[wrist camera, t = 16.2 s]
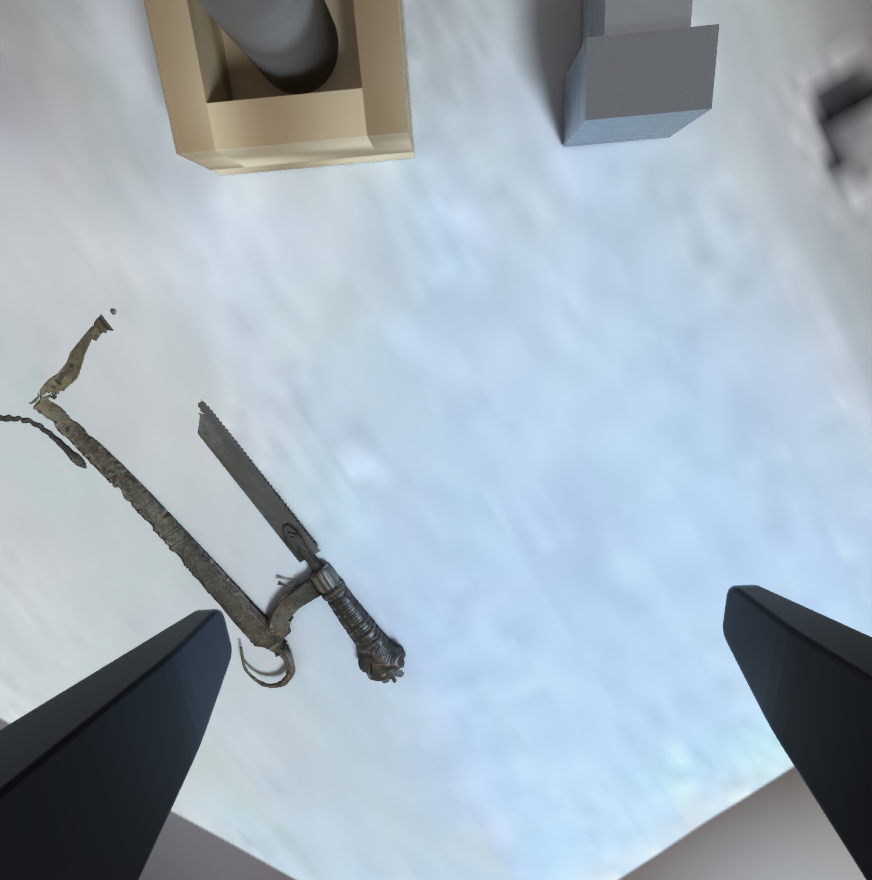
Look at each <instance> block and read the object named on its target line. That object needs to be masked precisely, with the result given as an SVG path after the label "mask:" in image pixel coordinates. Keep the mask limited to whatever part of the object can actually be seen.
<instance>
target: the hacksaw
mask: <svg viewBox="0 0 872 880" xmlns="http://www.w3.org/2000/svg"><path fill="white" fill-rule="evenodd" d="M110 312H111V313H112V314H116V310H115V309H111V311H110ZM107 330H111V331H113V330H114V329H112V328H111V327H110V325H109V324H108V323H107V321H106V320H105V319H104V317H103V316H102V315H100V317H98V318H97V319H96V321H95V322H94V326H92V327H91V328H90V329H89V330H88V331H87V333H86V334H85V335H84V336H83V337H82V339H81V340H80V341H79V342H78V344H77V345H76V346H75V347H74V349H73V350H72V351H71V352H70V355H69V357H68V360H67V363H66V364H65V365H64V367H63V368H62V369H61V370H60V372H59V373H58V374H56V375H55V376H53V377H52V378H50V379H49V380H47V382H46V383H45V384H44V385H43V386H42V388H41V389H40V400H39V401H38V402H37V403H36V404H35V405H34V407H33V408H34V410H35V409H36V410H37V411H38V412H39V413H42V414H43V415H44V416H45V417H46V418H48V419H50V420H52V421H53V422H54V423H55V426H56V428H57V430H58V431H59V432H60V433H61V434H62V435H64V436H66V437H67V438H68V439H69V440H70V441H71V442H72V444H73V445H74V446H75V447H76V448H77V449H78V450H79V451H80V452H81V453H82V454H83V456H84V457H86V458H87V459H88V460H89V462H90V463H91V464H92V465H93V466H94V467H95V468H96V469H97V470H98V471H99V472H100V473H101V474H102V475H103V476H104V477H105V478H106V479H107V480H108V481H109V483H113V487H119V488H120V489H121V491H122V493H123V496H124V498H125V499H126V500H127V501H130V502H131V504H132V507H134V508H135V510H136V511H137V513H139V514H140V515H141V516H142V517H143V518H144V519H145V520H146V521H148V522H149V523H150V524H151V525H152V526H153V531H155V532H156V533H157V534H158V536H159V537H160V538H161V539H163V540H164V541H165V543H166V544H167V545H168V546H169V549H170V550H171V551H173V552H175V553H177V555H178V556H179V557H180V558H181V559H182V561H183V563H184V566H186V568H188V569H189V571H190V572H191V573H192V575H193V576H194V577H195V578H196V579H198V580H199V581H200V583H201V584H202V585H203V587H204V588H205V589H206V591H207V592H208V593H209V594H211V596H212V597H213V598H214V599H215V600H216V601H217V602H218V603H219V604H220V606H221V607H222V608H223V609H224V611H225V612H226V613H227V614H228V616H229V617H230V618H231V619H232V621H233V622H234V623H235V624H236V625H237V626H238V627H239V629H240V630H241V631H242V632H243V633H244V634H245V635H246V636H247V637H248V638H249V639H250V641H251V643H253V644H254V646H258V647H264V648H266V649H268V650H270V651H272V652H274V653H275V656H276V657H277V656H280V657H281V658H282V659H283V660H284V662H285V664H286V667H287V671H286V675H285V677H284V678H283V679H282V680H281V681H279V682H277V683H273V684H267V683H264V682H262V681H260V680H258V679H257V678H255V677H254V676H253V675H252V674H251V673H250V672H249V671H248V669H247V668H246V666H245V661H244V656H243V650H242V647H240V652H241V660H242V665H243V668H244V670H245V671H246V673H247V674H248V675H249V676H250V677H251V678H252V679H253V680H254V681H256V682H257V683H258V684H260V685H261V686H264V687H269V688H277V687H282V686H285V685H286V684H287V683H288V682H289V681H290V680H291V679H292V677H293V675H294V674H295V665H294V660H293V657H292V655H291V654H290V652H289V650H288V649H287V647H288V644H285V643H284V642H283V639H284V638H285V637H286V636H287V635H288V634H289V633H290V632H291V629H290V627H289V626H290V623H291V621H292V619H293V616H292V615H293V614H294V613H295V612H296V611H297V610H298V609H299V608H300V607H302V606H303V605H305V604H307V603H308V602H310V601H312V600H313V599H315V598H317V597H319V596H320V595H322V598H323V599H324V600H326V601H328V604H329V606H330V607H331V608H332V610H333V612H334V613H335V615H336V616H337V618H338V619H339V621H340V623H341V624H342V626H343V627H344V628H345V629H346V631H347V633H348V635H349V636H350V637H351V639H352V640H353V642H354V643H355V644H356V646H357V648H358V651H359V658H358V664H359V667H360V669H361V670H362V671H363V672H365V673H367V675H368V677H369V679H371V680H375V681H382V682H383V683H387V682H389V680H390V679H392V681H393V682H394V683H395V682H396V678H395V676H396V677H402V676H403V675H404V672H403V671H402V670H398V669H400V668H401V667H404V663H405V662H404V659H403V658H405V652H404V650H403V649H402V648H401V647H400V646H397V645H395V644H393V643H392V642H391V641H390V640H389V638H388V637H387V636H386V635H385V634H384V633H383V632H382V630H381V629H380V628H379V627H377V626H376V623H375V622H374V621H373V620H372V618H371V617H370V615H369V614H368V613H367V612H366V611H365V610H364V609H363V607H362V606H361V605H360V603H359V602H358V601H357V600H356V599H355V597H354V596H353V595H352V593H351V592H350V590H349V589H347V588H346V585H345V582H344V581H343V580H340V578H339V576H338V575H337V573H336V572H335V570H334V569H333V568H332V567H331V565H330V564H328V563H326V564H325V565H322V563H321V562H320V561H319V560H318V558H317V557H316V556H315V554H316V553H317V552H319V551H321V550H319V549H318V547H317V546H316V545H315V543H314V542H313V540H312V539H310V536H308V535H307V533H306V532H305V531H304V529H303V528H302V526H301V525H300V524H299V522H298V521H296V518H294V517H293V514H291V513H290V511H289V510H288V508H287V507H286V506H285V504H284V503H283V502H282V500H281V499H279V496H277V495H276V492H274V491H273V489H272V488H271V487H270V485H269V484H268V483H267V481H266V480H265V479H264V477H263V476H262V475H261V473H259V470H258V469H256V466H255V465H253V463H252V462H251V461H250V459H249V458H248V457H247V455H246V454H245V453H244V451H243V450H242V449H241V447H240V446H239V445H238V444H237V442H236V441H235V440H234V438H233V437H232V436H231V434H229V433H228V430H226V429H225V426H223V425H222V422H220V421H219V418H216V415H215V414H214V413H213V411H212V410H210V408H209V406H206V403H204V402H203V401H202V402H200V403H198V407H199V408H200V409H201V410H200V411H201V412H202V413H204V414H201V413H198V414H199V415H200V420H199V428H198V434H199V436H200V437H201V438H202V439H203V441H204V442H205V443H206V444H207V446H208V447H209V448H210V449H211V451H212V452H213V453H214V455H215V456H216V457H217V458H218V460H219V461H220V462H221V463H222V465H223V466H224V467H225V468H226V470H227V471H228V472H229V474H230V475H231V476H232V477H233V479H234V480H235V481H236V482H237V484H238V485H239V486H240V487H241V489H242V490H243V491H244V492H245V494H246V495H247V496H248V498H249V499H250V500H251V501H252V503H253V504H254V505H255V506H256V508H257V509H258V510H259V511H260V513H261V514H262V515H263V517H264V518H265V519H266V520H267V522H268V523H269V524H270V525H271V527H272V528H273V529H274V530H275V532H276V533H277V534H278V536H279V537H280V538H281V539H282V541H283V542H284V543H285V544H286V546H287V547H288V548H289V549H290V551H291V552H292V553H293V554H294V556H295V557H296V558H297V560H298V561H299V562H302V561H303V560H306V562H307V563H308V564H309V566H310V568H311V569H312V572H311V573H310V574H309V577H310V578H309V579H308V580H306V581H304V582H303V583H302V584H301V585H299V586H296V585H288V584H284V583H282V582H281V581H279V582H278V584H277V585H284V586H290V587H296V588H294V589H292V590H291V591H290V592H288V593H287V594H286V595H284V596H283V597H282V598H281V599H280V600H279V602H278V603H277V605H276V606H275V608H274V610H273V611H272V613H271V615H270V618H269V620H268V619H267V618H266V617H265V616H264V615H263V614H262V613H261V612H260V611H259V610H258V609H256V608H255V607H254V605H253V604H252V603H251V602H250V601H249V600H248V598H247V597H246V596H245V595H244V594H243V592H242V591H241V590H240V589H239V588H238V587H237V586H236V585H235V583H233V582H232V581H231V580H230V578H229V577H227V575H226V573H225V572H224V571H223V570H222V569H221V568H220V567H219V566H218V565H217V564H216V563H215V562H214V560H213V559H212V558H211V557H210V556H209V555H208V553H206V552H205V551H204V550H203V548H202V547H201V546H200V545H199V544H198V543H197V542H196V541H195V540H194V539H193V537H192V536H191V535H190V534H189V533H188V532H187V531H186V530H185V529H184V528H183V527H182V526H181V525H180V524H179V523H178V521H177V520H176V519H175V518H174V517H173V516H172V515H171V514H170V513H169V512H168V511H167V510H166V508H165V507H163V506H162V505H161V504H160V502H159V501H158V500H157V499H156V498H155V497H154V496H153V495H152V494H151V493H150V492H149V491H148V490H147V489H146V488H145V487H144V486H143V485H142V484H141V483H140V482H139V481H138V480H137V479H136V478H135V477H134V476H133V475H132V474H131V473H130V472H129V471H128V470H127V469H126V467H124V465H123V464H122V463H120V462H119V461H118V460H117V459H116V458H115V457H114V456H113V455H112V454H111V453H110V452H109V451H108V450H107V449H106V448H105V447H103V446H102V445H101V444H100V443H99V442H98V441H97V440H95V439H94V438H93V437H91V436H89V435H88V434H87V433H86V430H85V429H84V428H83V427H82V426H80V425H79V424H78V423H77V422H75V421H73V420H72V419H70V417H69V415H66V412H65V411H64V410H63V409H62V408H61V407H59V406H58V405H56V404H54V403H53V402H51V401H50V400H49V399H48V398H49V397H51V398H53V399H55V398H56V397H57V396H56V394H59V391H64V390H65V389H66V388H67V387H68V386H69V385H70V384H71V383H72V382H74V381H75V380H76V379H77V377H78V375H79V373H80V369H81V366H82V363H83V360H84V356H85V353H86V351H87V349H88V346H89V344H90V342H91V339H93V340H95V341H96V340H97V339H98V338H99V336H100V334H102V333H103V332H104V333H106V332H107ZM46 392H48V393H50V392H52V393H51V394H52V396H51V394H50V395H48V396H45V397H42V396H43V395H45V394H46ZM38 398H39V393H38V396H37V397H36V398H35V399H34V400H33V401H32V402H30V404H32V403H34V402H36V401H37V400H38ZM19 420H21V422H22V423H31V424H32V426H34V427H37V428H39V429H40V430H41V431H42V432H44V433H46V434H47V435H48V436H49V437H50V438H51V439H52V440H54V441H55V442H56V444H57V445H58V446H59V447H61V448H62V450H63V451H64V452H65V453H66V454H67V455H68V457H69V458H70V460H71V461H72V462H73V463H75V464H76V465H77V466H80V467H82V468H87V467H86V463H85V461H84V459H83V458H82V457H81V456H80V455H79V454H78V453H76V452H74V451H73V450H72V449H71V448H70V447H69V446H68V445H66V444H65V443H64V442H63V441H62V440H61V439H60V438H58V437H57V436H55V435H54V434H53V433H52V432H51V431H50V430H48V429H46V428H45V427H44V426H43V425H42V424H40V423H37V422H35V421H33V420H32V419H29V418H22V417H20V416H16V417H12V416H11V415H7V416H2V415H0V421H5V422H7V421H19Z"/></svg>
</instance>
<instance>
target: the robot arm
mask: <svg viewBox="0 0 872 880" xmlns="http://www.w3.org/2000/svg"><path fill="white" fill-rule="evenodd" d="M723 632H724V636H725V639H726V641H727V643H728V645H729V647H730V649H731V651H732V653H733V655H734V657H735V659H736V661H737V663H738V665H739V667H740V669H741V671H742V673H743V675H744V677H745V679H746V681H747V683H748V685H749V687H750V689H751V691H752V693H753V695H754V696H755V698H756V700H757V702H758V704H759V706H760V708H761V710H762V712H763V714H764V716H765V718H766V720H767V721H768V723H769V725H770V727H771V729H772V730H773V732H774V734H775V735H776V737H777V739H778V740H779V742H780V744H781V745H782V747H783V748H784V750H785V752H786V753H787V755H788V756H789V758H790V759H791V761H792V763H793V764H794V766H795V767H796V769H797V771H798V772H799V774H800V775H801V777H802V778H803V780H804V782H805V783H806V785H807V786H808V788H809V789H810V791H811V793H812V794H813V796H814V797H815V799H816V801H817V802H818V804H819V805H820V807H821V809H822V810H823V812H824V813H825V815H826V817H827V818H828V820H829V821H830V823H831V825H832V826H833V828H834V829H835V831H836V832H837V834H838V836H839V837H840V839H841V840H842V842H843V844H844V845H845V847H846V848H847V850H848V851H849V853H850V855H851V856H852V858H853V859H854V861H855V863H856V864H857V866H858V867H859V869H860V870H861V872H862V873H863V875H864V877H865V878H866V880H872V637H870V636H868V635H866V634H863V633H861V632H859V631H857V630H855V629H852V628H850V627H848V626H846V625H844V624H841V623H839V622H837V621H835V620H833V619H830V618H828V617H826V616H824V615H822V614H819V613H817V612H815V611H813V610H811V609H808V608H806V607H804V606H802V605H800V604H797V603H795V602H793V601H791V600H789V599H786V598H784V597H782V596H780V595H778V594H775V593H773V592H771V591H769V590H767V589H764V588H762V587H760V586H757V585H739V586H732V587H731V588H729V590H728V593H727V598H726V606H725V613H724V620H723ZM231 652H232V649H231V642H230V638H229V634H228V630H227V626H226V622H225V619H224V615H223V613H222V612H221V611H220V610H218V609H211V610H198V611H195V612H193V613H192V614H190V615H188V616H187V617H185V618H183V619H182V620H180V621H178V622H177V623H175V624H173V625H172V626H170V627H169V628H167V629H165V630H164V631H162V632H160V633H159V634H157V635H155V636H154V637H152V638H150V639H149V640H147V641H146V642H144V643H142V644H141V645H139V646H137V647H136V648H134V649H132V650H131V651H129V652H127V653H126V654H124V655H123V656H121V657H119V658H118V659H116V660H114V661H113V662H111V663H109V664H108V665H106V666H104V667H103V668H101V669H100V670H98V671H96V672H95V673H93V674H91V675H90V676H88V677H86V678H85V679H83V680H81V681H80V682H78V683H77V684H75V685H73V686H72V687H70V688H68V689H67V690H65V691H63V692H62V693H60V694H58V695H57V696H55V697H54V698H52V699H50V700H49V701H47V702H45V703H44V704H42V705H40V706H39V707H37V708H35V709H34V710H32V711H31V712H29V713H27V714H26V715H24V716H22V717H21V718H19V719H17V720H16V721H14V722H12V723H11V724H9V725H8V726H6V727H4V728H3V729H1V730H0V880H139V878H140V876H141V874H142V872H143V869H144V867H145V865H146V863H147V861H148V859H149V856H150V854H151V852H152V850H153V848H154V845H155V843H156V841H157V839H158V837H159V835H160V832H161V830H162V828H163V826H164V824H165V821H166V819H167V817H168V815H169V813H170V811H171V808H172V806H173V804H174V802H175V800H176V797H177V795H178V793H179V791H180V789H181V787H182V784H183V782H184V780H185V778H186V776H187V773H188V771H189V769H190V767H191V765H192V763H193V760H194V758H195V756H196V753H197V751H198V749H199V747H200V744H201V742H202V739H203V736H204V734H205V731H206V728H207V725H208V722H209V720H210V717H211V714H212V711H213V708H214V705H215V702H216V699H217V697H218V694H219V691H220V688H221V685H222V682H223V679H224V676H225V674H226V671H227V668H228V665H229V662H230V659H231Z"/></svg>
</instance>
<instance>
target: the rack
mask: <svg viewBox="0 0 872 880" xmlns="http://www.w3.org/2000/svg"><path fill="white" fill-rule="evenodd" d="M144 3H145V8H146V13H147V17H148V22H149V27H150V31H151V36H152V41H153V45H154V50H155V55H156V59H157V64H158V69H159V74H160V78H161V83H162V88H163V92H164V97H165V102H166V106H167V111H168V116H169V121H170V125H171V130H172V135H173V139H174V144H175V149H176V153H177V154H178V155H180V156H182V157H185V158H187V159H189V160H191V161H193V162H195V163H197V164H199V165H201V166H203V167H206V168H208V169H210V170H212V171H214V172H216V173H218V174H220V175H231V174H242V173H253V172H264V171H275V170H286V169H297V168H308V167H319V166H330V165H341V164H352V163H363V162H374V161H385V160H396V159H408V158H415V155H414V142H413V129H412V116H411V103H410V90H409V77H408V64H407V51H406V38H405V25H404V12H403V0H144Z"/></svg>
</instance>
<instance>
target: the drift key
mask: <svg viewBox="0 0 872 880" xmlns="http://www.w3.org/2000/svg"><path fill="white" fill-rule="evenodd" d="M691 13H692V0H584V3H583V45H582V47H581V49H580V51H579V53H578V54H577V56H576V58H575V60H574V62H573V63H572V65H571V67H570V69H569V71H568V72H567V74H566V76H565V78H564V139H563V147H566V146H577V145H588V144H599V143H610V142H621V141H632V140H643V139H654V138H666V137H670V136H672V135H673V134H675V133H676V132H678V131H679V130H681V129H682V128H683V127H685V126H686V125H688V124H689V123H691V122H692V121H694V120H695V119H697V118H698V117H700V116H701V115H703V114H704V113H706V112H707V111H709V110H710V109H712V98H713V87H714V76H715V65H716V54H717V43H718V32H719V24H716V25H706V26H697V27H690V26H691Z"/></svg>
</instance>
